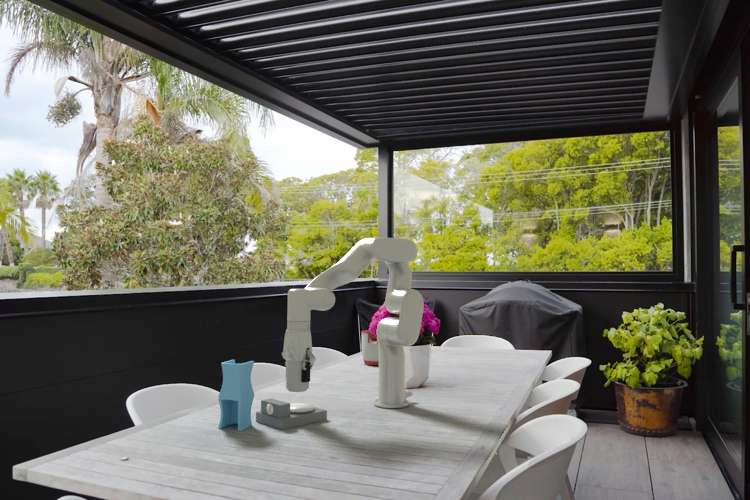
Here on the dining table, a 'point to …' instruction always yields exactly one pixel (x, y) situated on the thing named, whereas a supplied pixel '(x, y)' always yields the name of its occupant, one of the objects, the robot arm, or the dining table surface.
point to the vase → (236, 394)
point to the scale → (288, 414)
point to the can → (295, 375)
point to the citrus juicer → (370, 348)
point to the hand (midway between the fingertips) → (297, 379)
